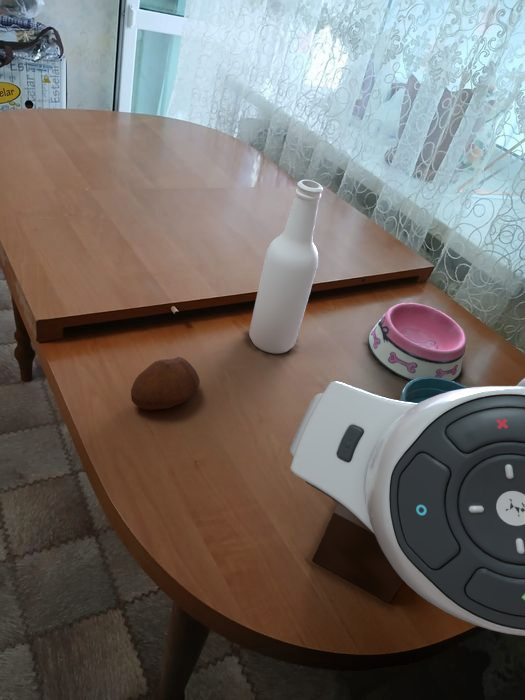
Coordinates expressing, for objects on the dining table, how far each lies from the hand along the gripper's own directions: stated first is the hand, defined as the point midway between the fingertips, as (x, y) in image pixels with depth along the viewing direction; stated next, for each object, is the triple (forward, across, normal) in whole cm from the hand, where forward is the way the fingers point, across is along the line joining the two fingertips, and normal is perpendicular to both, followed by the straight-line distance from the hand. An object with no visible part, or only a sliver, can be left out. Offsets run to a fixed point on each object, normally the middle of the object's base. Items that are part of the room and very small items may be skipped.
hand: (420, 482), depth 45 cm
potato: (+31, +35, +5) cm, 47 cm away
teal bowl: (+47, -4, -10) cm, 48 cm away
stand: (+27, +1, +9) cm, 29 cm away
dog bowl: (+60, +5, -23) cm, 64 cm away
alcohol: (+49, +29, -12) cm, 58 cm away
